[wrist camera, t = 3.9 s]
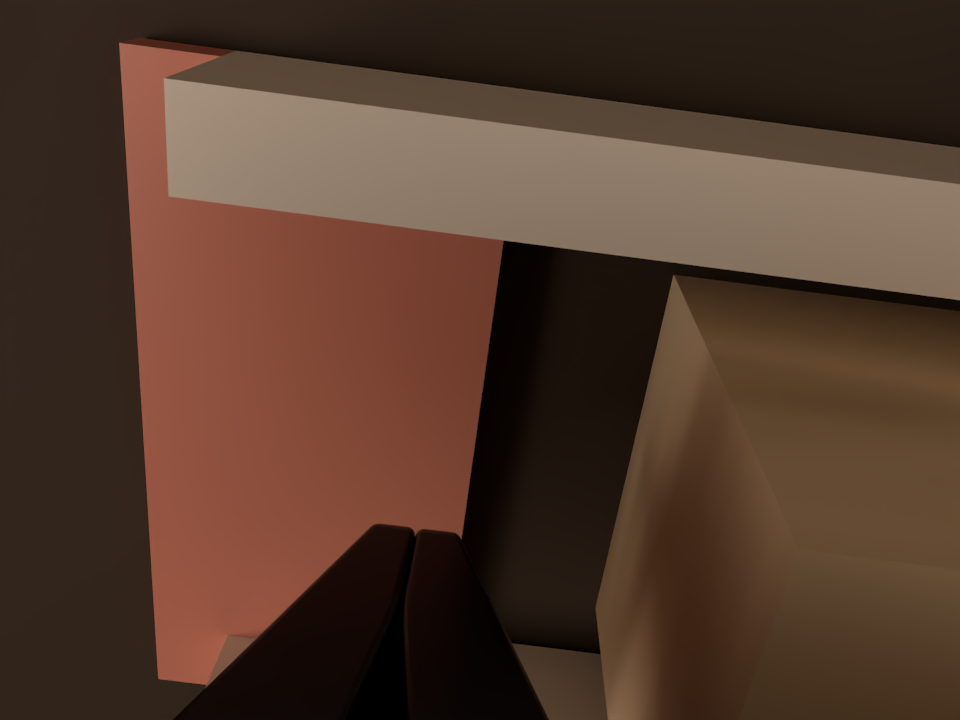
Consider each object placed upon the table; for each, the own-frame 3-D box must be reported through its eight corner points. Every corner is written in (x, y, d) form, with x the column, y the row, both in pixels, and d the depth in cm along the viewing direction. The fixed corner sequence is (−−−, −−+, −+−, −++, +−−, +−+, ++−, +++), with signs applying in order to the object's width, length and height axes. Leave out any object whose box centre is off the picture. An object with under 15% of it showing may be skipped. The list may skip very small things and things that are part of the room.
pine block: (944, 646, 12) (1193, 1063, 8) (594, 603, 12) (638, 997, 8) (1099, 327, 10) (1580, 646, 5) (673, 272, 10) (799, 550, 5)
